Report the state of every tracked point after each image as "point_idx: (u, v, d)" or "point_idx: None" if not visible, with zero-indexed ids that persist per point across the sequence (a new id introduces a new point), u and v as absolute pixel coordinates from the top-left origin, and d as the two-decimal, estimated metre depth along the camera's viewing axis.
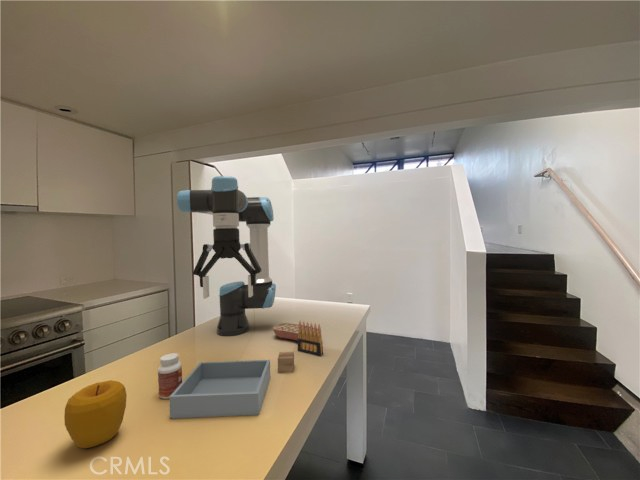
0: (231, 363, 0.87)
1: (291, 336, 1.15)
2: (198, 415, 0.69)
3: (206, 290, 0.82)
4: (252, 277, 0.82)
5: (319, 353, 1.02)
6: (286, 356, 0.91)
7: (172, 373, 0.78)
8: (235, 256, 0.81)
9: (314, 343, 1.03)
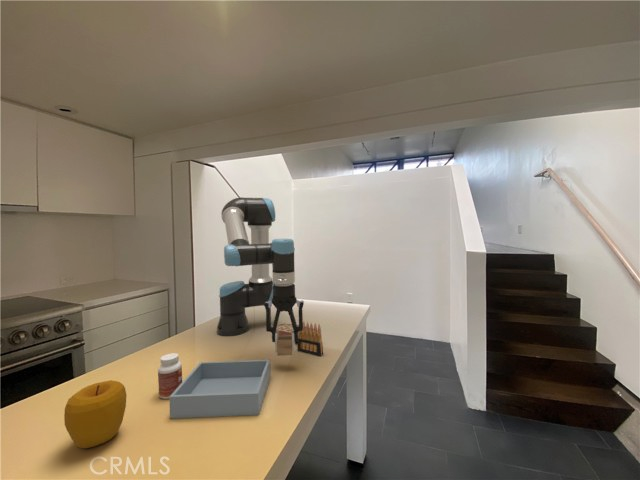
0: (231, 363, 0.87)
1: None
2: (198, 415, 0.69)
3: None
4: (295, 334, 0.92)
5: (319, 353, 1.02)
6: (285, 339, 0.92)
7: (172, 373, 0.78)
8: (289, 312, 0.91)
9: (314, 343, 1.03)
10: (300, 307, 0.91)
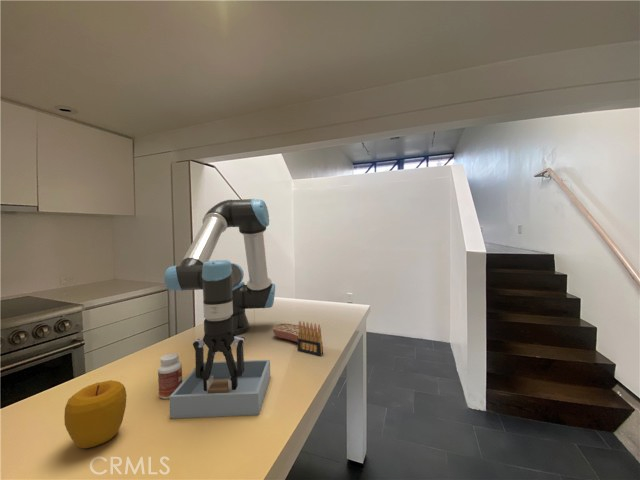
0: None
1: (289, 337, 1.15)
2: (198, 415, 0.69)
3: None
4: (233, 380, 0.73)
5: (319, 353, 1.02)
6: (220, 386, 0.73)
7: (172, 373, 0.78)
8: (224, 353, 0.72)
9: (314, 343, 1.03)
10: (238, 346, 0.73)
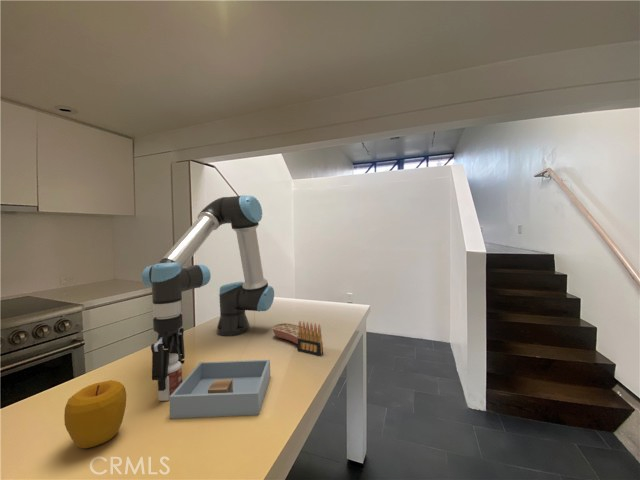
0: (231, 363, 0.87)
1: (287, 337, 1.14)
2: (198, 415, 0.69)
3: None
4: None
5: (319, 353, 1.02)
6: (220, 386, 0.73)
7: (172, 373, 0.78)
8: None
9: (314, 343, 1.03)
10: None
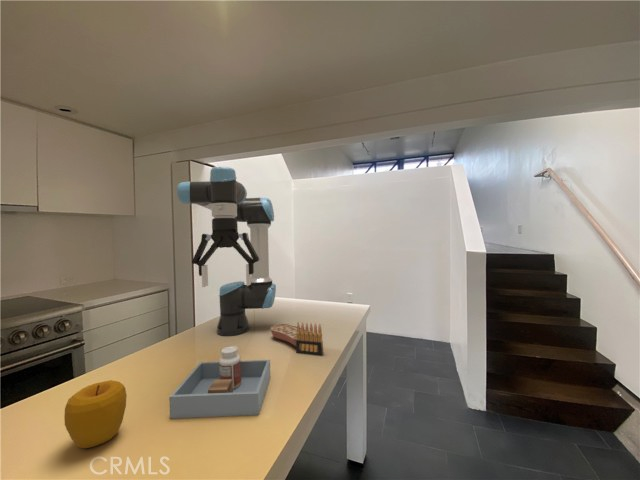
0: None
1: (284, 338, 1.14)
2: (198, 415, 0.69)
3: (205, 279, 0.84)
4: (250, 266, 0.84)
5: (320, 353, 1.02)
6: (220, 386, 0.73)
7: None
8: (233, 245, 0.83)
9: (315, 343, 1.03)
10: (244, 238, 0.83)
